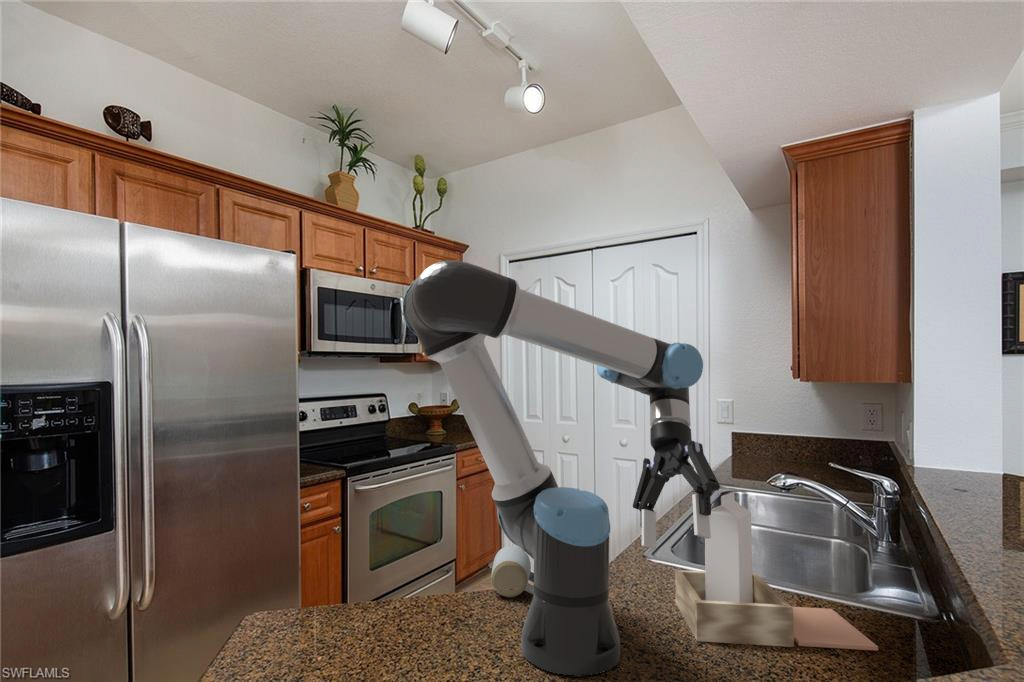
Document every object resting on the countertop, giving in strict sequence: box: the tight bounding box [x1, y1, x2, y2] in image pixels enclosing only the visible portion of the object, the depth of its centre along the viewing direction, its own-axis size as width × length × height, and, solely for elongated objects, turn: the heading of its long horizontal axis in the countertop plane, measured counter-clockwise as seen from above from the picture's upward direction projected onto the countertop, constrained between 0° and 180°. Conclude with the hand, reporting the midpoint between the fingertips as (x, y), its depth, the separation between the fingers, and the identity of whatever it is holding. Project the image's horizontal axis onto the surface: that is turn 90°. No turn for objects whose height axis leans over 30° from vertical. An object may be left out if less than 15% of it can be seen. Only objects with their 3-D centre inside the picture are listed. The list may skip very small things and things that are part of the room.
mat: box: [792, 606, 879, 651], centre depth 89 cm, size 12×14×1 cm
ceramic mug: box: [490, 545, 534, 598], centre depth 103 cm, size 11×8×8 cm
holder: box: [674, 569, 795, 648], centre depth 91 cm, size 15×15×6 cm
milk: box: [704, 491, 753, 603], centre depth 91 cm, size 6×6×22 cm
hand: (674, 542), depth 89 cm, fingers open, 13 cm apart
